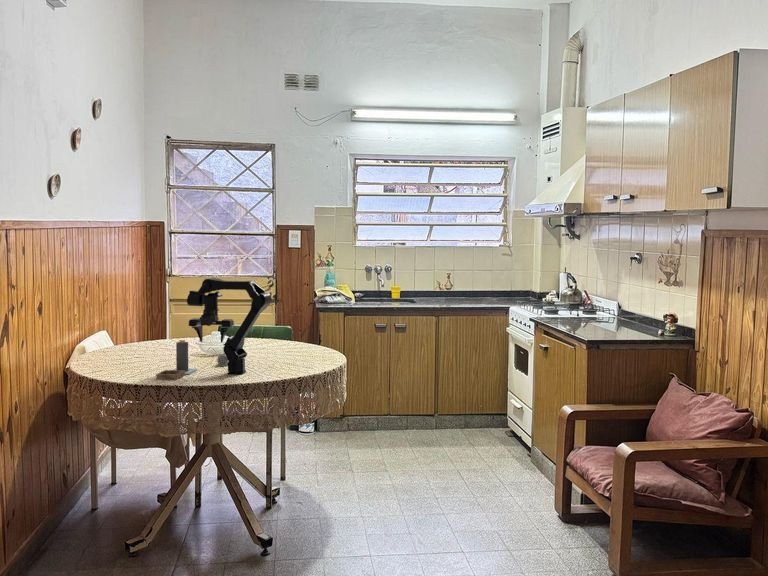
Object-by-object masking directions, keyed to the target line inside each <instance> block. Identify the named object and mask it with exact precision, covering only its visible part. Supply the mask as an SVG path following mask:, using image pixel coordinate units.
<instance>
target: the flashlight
mask: <svg viewBox="0 0 768 576" xmlns="http://www.w3.org/2000/svg"><path fill="white" fill-rule="evenodd" d="M216 361H217V364H218V365H219V366H221V367H223V366H224V367H225V366H228V362H229V360H227V357H226V354H225V353H224V352H223V353H221V354H218V356H217V357H216Z"/></svg>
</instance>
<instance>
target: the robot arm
mask: <svg viewBox="0 0 768 576" xmlns="http://www.w3.org/2000/svg"><path fill="white" fill-rule="evenodd" d="M222 290H226V291H227V290H228V291H231V290H232V291H233V290H235V291H236V290H237V291H245V292H247V294H248V296H249V298H250V299H251V300H252V301H251V304H250V309H249V311H248V313H247V315H246V316H245V318H244V320H243V321H242V323H241V325H240V326H239V327H238V330H237V331H236V333H235V335H231V336H228V337H227V339H226V341H225V343H223V342H224V339H225V336H226V334H227V332H228V330H229V329H230V328H231V327H234V324H235V321H234V319H232V318H227V319H226V318H224V319H221V320H219V319H220V318H219V314H218V313H219V311H220V309H219V308H218V304H219V303H218V302H219V299H218V298H220V297H223V294H222V293H220V291H222ZM272 301H273V298H272V296H271V294H270V293H268V292H266V291H265V289H264V288H262V287H261V286H259V285H258V284H257V283H256V282H255V281H254V280H224V279H221V278H217V277H210V278H205V279H204V280H203V281H202V282H201V286H200V288H199V289H198V290H189V293H188V295H187V297H186V303H187V305H188V307H203V306H204V309H203V311H202V313H203V314H202V315H201V316H200V317H197V318H196V317H195V318H190V319H189V320H188V326H189V327H191V328H192V329H194V330H195V332H196V334H197V335H198V339H199V342H201V343H203V333H204V332H203V326H208V327H210V326H212V325H213V326H221V327H220V343H223V348H222V349H223V354H224V353H225V354H226V357H227V360H229V362H228V365H227V374H228V375H243V374H245V373H246V372H247V370H246V358H247V356H248V352H247V351H246V350H245V349H244V345H245V339H246V338H247V336H248V335H249V332H250V331H251V329H252V328H253V326H254V325H255V323H256V321H257V320H258V318H259V316H260V315H261V313H263V312H264V311H265V310H266V309H267V308H268V307H269V306H270V305H271V304H272Z"/></svg>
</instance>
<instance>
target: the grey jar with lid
mask: <svg viewBox="0 0 768 576" xmlns="http://www.w3.org/2000/svg"><path fill="white" fill-rule="evenodd" d="M175 343H176V344H175V345H176V346H175V347H176V349H175V350H176V351H175V353H176V355H175V357H176V362H175V365H176V370H181V371H185V372H187V371H188V369H189V342H188V341H186V340H185V339H180V340H179V341H177V342H175Z"/></svg>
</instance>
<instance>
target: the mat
mask: <svg viewBox="0 0 768 576" xmlns="http://www.w3.org/2000/svg"><path fill="white" fill-rule="evenodd" d="M173 370H176V368H174V369H173ZM197 371H198V368H188V371H187V372H185V376H190V375H191V374H194V373H195V372H197Z"/></svg>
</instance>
